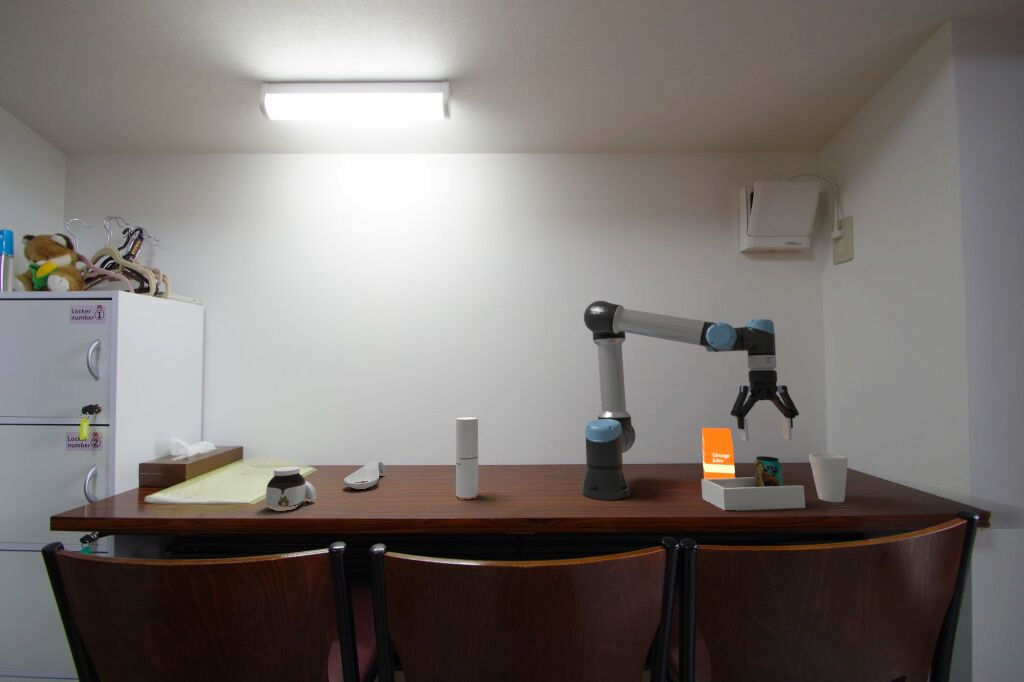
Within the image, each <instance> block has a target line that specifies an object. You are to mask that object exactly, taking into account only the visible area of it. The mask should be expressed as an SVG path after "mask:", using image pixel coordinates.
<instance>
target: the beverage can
mask: <svg viewBox="0 0 1024 682" xmlns="http://www.w3.org/2000/svg"><path fill="white" fill-rule="evenodd" d="M779 460H780V459H779V458H777V457H775V456H764V455H763V456H762V455H761V456H756V459H755V461H754V463H753V465H754V477H755V485H756V487H770V486H784V485H783V484H784V483H783V482H784V481H783V468H782V464H781V463H780V461H779Z"/></svg>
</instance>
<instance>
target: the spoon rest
mask: <svg viewBox="0 0 1024 682" xmlns="http://www.w3.org/2000/svg"><path fill="white" fill-rule="evenodd" d="M379 473H386V474H387V471H386V467H385V465H384V463H383V462H382V461H373V460H372V461H369V462H368V463H366V464H364V465H363V466H362V467H360V468H359V469H357V470H356V471H354V472H353V473H351V474H349V475H347V476H346V477H345V478H344V479H343V483H344V484H345V486H346V487H347V486H348V487H347V488H349V487H352V488H363V487H370V486H372V487H374V486H375V485H376V484H377V483H378V481H379V479H380V477H379V475H380V474H379ZM361 481H368V482H365V483H355V482H361ZM373 485H374V486H373Z"/></svg>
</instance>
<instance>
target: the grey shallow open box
mask: <svg viewBox="0 0 1024 682" xmlns="http://www.w3.org/2000/svg"><path fill="white" fill-rule="evenodd" d="M700 481H701V495H702V496H701V498H703V499H702V500H704V501H706V502H708V503H709V502H710V504H712V505H713V506H715V507H716V508H718V507H719V508H718V509H720V508H721V509H720V510H722V509H723V510H722V511H724V510H736V511H755V510H756V511H757V510H758V511H759V510H762V511H763V510H782V509H783V510H785V509H786V510H787V509H806V498H805V486H804V485H783V486H770V487H756V485H755V476H751V477H748V476H747V477H746V476H745V477H735V478H714V479H704V478H701V480H700Z"/></svg>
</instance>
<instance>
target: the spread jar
mask: <svg viewBox="0 0 1024 682" xmlns="http://www.w3.org/2000/svg"><path fill="white" fill-rule="evenodd" d="M273 475H274V476H273V477H272V478H271V479H270V480H269V481H268V483H267V485H266V492H265V504H266V506H267V507H268V506H273V507H291V506H296V505H299V504H301V503H302V502H305V501H304V499H305V498H307V499H312V500H313V499H314V500H316V498H317V492H316V489H315V487H314V486H313V485H312V484H311V482H309V481H306V480H305V477H304V476H303V475H302V474H301V473H300V467H299V466H296V465H295V466H294V465H293V466H292V465H291V466H282V467H278V468H274V471H273ZM314 500H313V501H314ZM302 504H303V503H302ZM302 504H301V505H302Z"/></svg>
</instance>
